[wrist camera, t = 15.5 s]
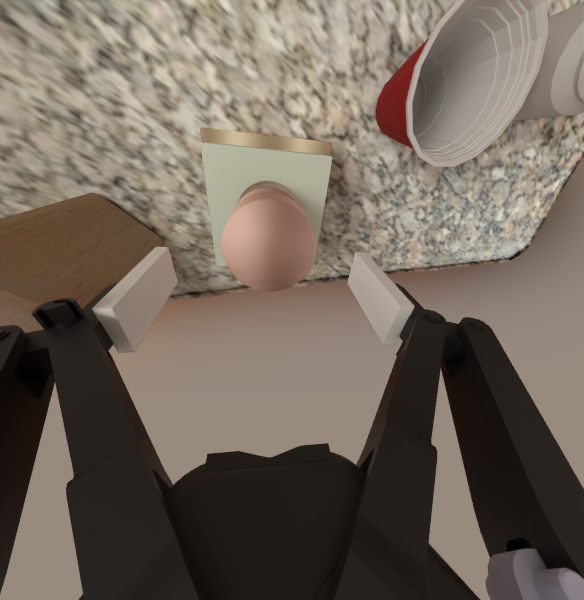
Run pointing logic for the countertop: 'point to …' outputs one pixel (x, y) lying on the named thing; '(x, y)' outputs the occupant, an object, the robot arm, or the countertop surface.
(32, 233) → the block
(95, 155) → the countertop surface
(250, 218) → the pink rounded cylinder
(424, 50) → the plastic cup
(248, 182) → the tower top
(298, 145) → the tower base
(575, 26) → the can
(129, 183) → the countertop surface
